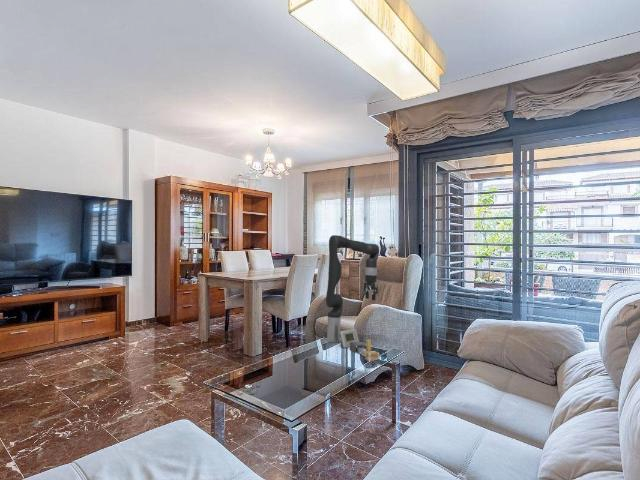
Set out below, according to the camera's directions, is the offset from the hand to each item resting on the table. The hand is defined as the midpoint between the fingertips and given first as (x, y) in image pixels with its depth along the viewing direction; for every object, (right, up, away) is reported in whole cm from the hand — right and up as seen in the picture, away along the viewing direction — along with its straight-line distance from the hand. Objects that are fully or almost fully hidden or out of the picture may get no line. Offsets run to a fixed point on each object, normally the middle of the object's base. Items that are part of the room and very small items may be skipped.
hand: (370, 299), depth 233 cm
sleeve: (-9, -33, -3) cm, 34 cm away
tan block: (-2, -32, -21) cm, 39 cm away
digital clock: (-13, -33, +9) cm, 37 cm away
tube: (-5, -32, -13) cm, 35 cm away
